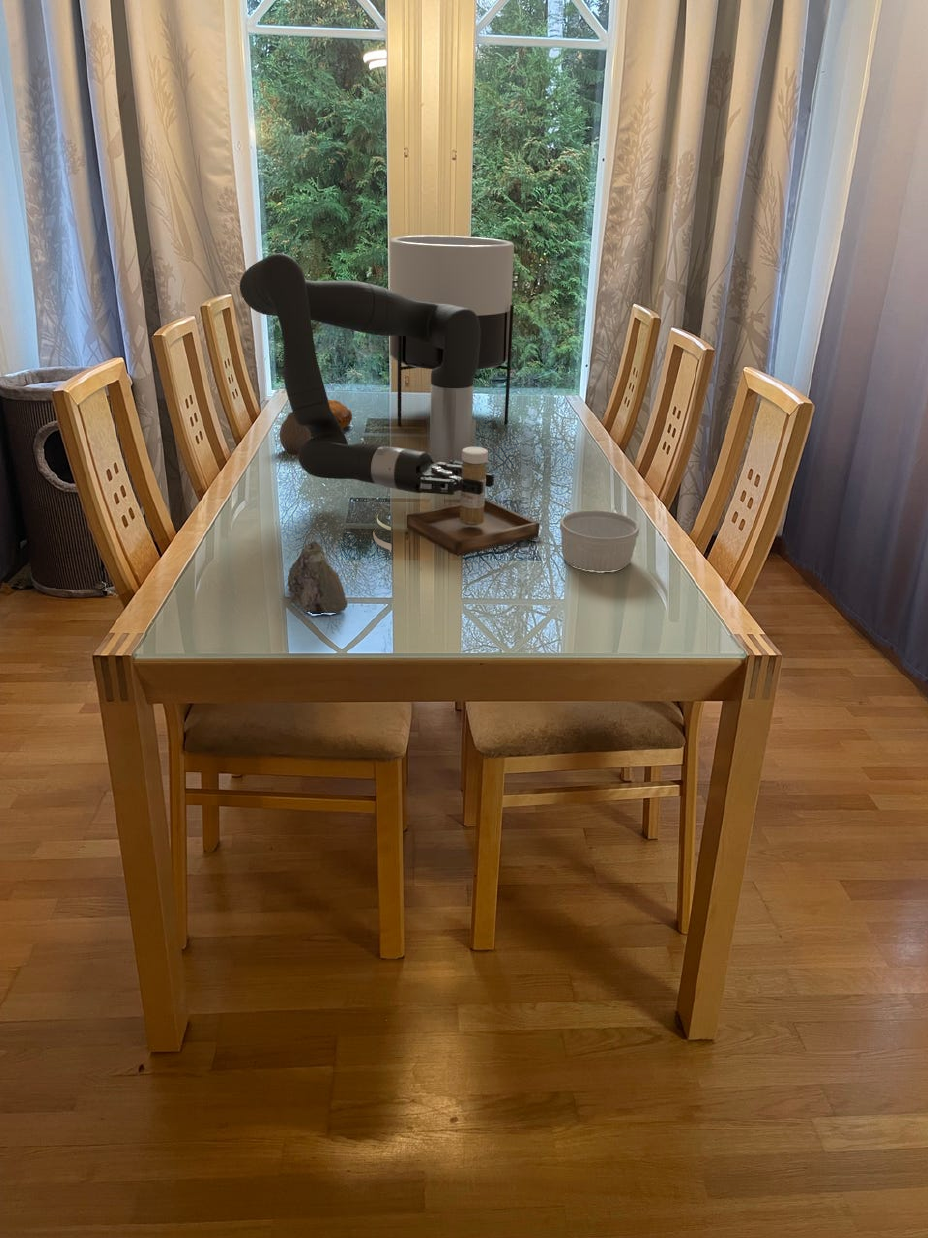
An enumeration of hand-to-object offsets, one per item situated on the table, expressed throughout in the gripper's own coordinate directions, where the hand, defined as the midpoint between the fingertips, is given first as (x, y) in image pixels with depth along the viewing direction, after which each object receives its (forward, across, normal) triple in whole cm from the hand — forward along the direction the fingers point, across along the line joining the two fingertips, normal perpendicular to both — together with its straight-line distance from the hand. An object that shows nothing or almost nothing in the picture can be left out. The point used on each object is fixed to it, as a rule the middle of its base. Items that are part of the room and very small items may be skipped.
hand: (487, 484), depth 163 cm
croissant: (-64, +48, +11) cm, 81 cm away
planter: (-41, +73, +10) cm, 85 cm away
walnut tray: (-3, 0, +10) cm, 10 cm away
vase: (-58, +28, +10) cm, 65 cm away
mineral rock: (-12, -37, +10) cm, 40 cm away
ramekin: (+21, -2, +10) cm, 24 cm away
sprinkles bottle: (-3, 0, +8) cm, 8 cm away
